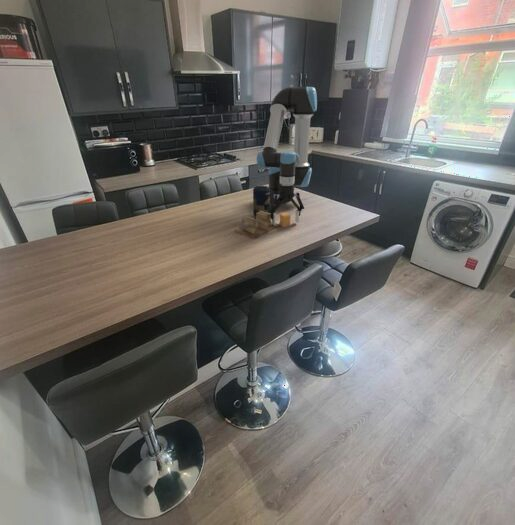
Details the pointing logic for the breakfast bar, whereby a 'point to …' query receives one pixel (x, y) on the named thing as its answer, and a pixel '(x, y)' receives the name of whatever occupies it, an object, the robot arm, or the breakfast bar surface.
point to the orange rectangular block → (285, 219)
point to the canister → (261, 199)
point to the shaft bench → (258, 233)
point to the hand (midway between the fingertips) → (285, 223)
